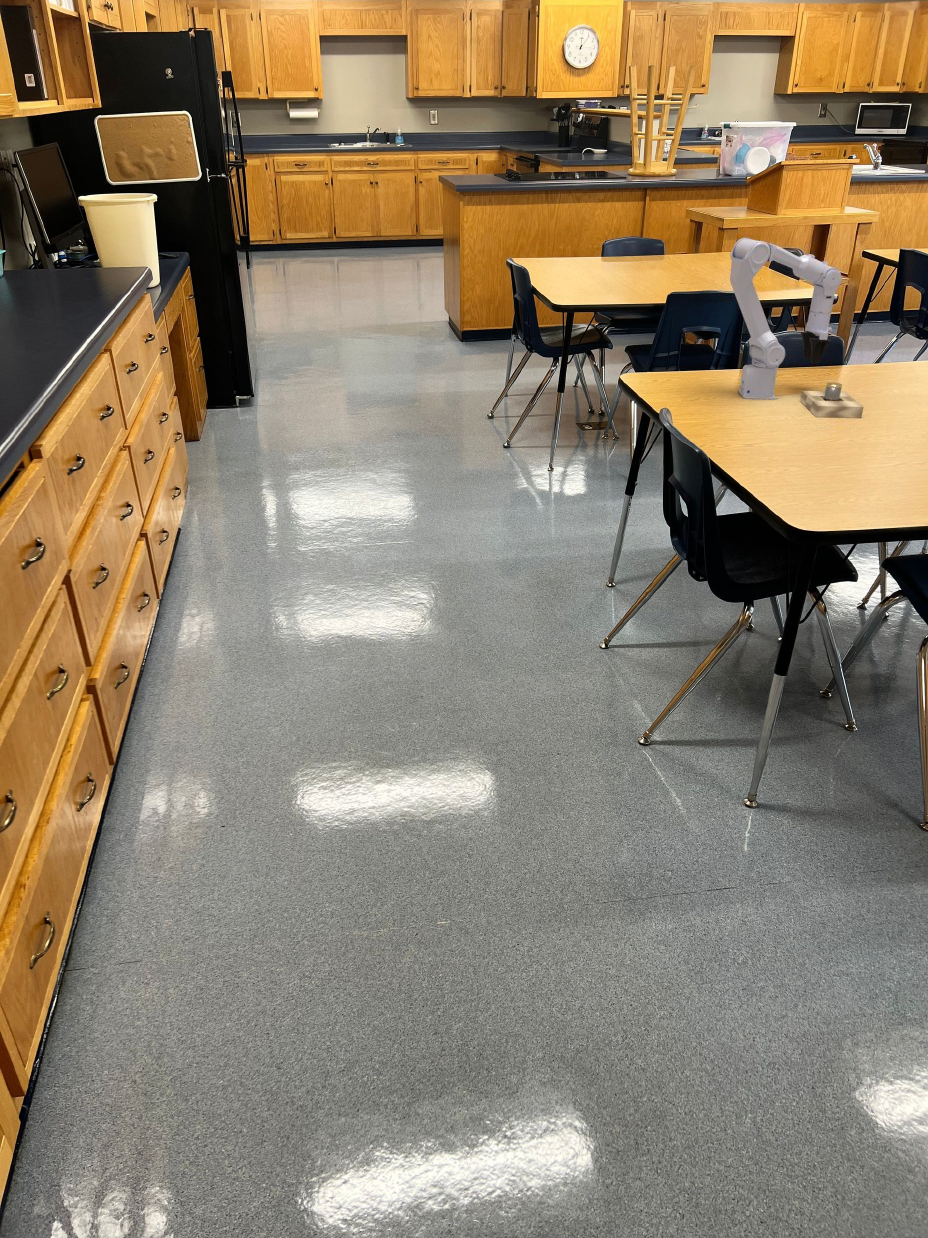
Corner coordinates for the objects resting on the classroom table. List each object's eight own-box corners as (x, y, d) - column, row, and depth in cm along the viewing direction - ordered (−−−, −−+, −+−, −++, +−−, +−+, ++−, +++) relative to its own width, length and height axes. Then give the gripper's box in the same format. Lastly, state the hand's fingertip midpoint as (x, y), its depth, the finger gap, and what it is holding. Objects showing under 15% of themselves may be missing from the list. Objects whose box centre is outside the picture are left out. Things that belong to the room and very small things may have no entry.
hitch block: (815, 416, 242) (818, 405, 241) (799, 401, 256) (801, 390, 255) (861, 417, 241) (863, 406, 240) (842, 401, 255) (845, 391, 254)
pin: (824, 411, 247) (829, 385, 244) (819, 407, 251) (824, 382, 247) (839, 411, 247) (844, 385, 244) (834, 407, 250) (839, 382, 247)
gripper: (842, 316, 247) (832, 366, 253) (827, 307, 259) (818, 354, 266) (816, 315, 247) (807, 365, 253) (802, 306, 260) (793, 354, 266)
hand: (811, 360), depth 260 cm, fingers open, 7 cm apart
